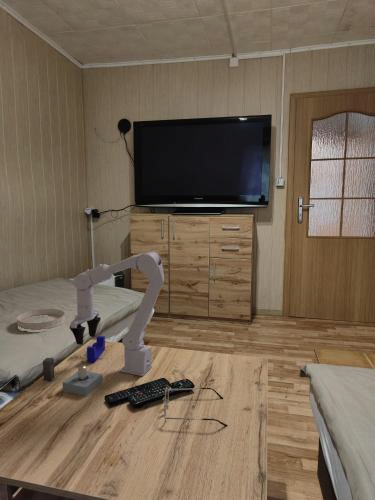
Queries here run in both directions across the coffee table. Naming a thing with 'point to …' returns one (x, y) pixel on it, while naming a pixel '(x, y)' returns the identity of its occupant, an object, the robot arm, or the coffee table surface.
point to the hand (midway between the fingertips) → (86, 340)
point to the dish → (54, 318)
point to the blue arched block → (96, 349)
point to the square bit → (48, 369)
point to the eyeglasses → (187, 418)
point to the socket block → (82, 383)
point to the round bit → (82, 373)
